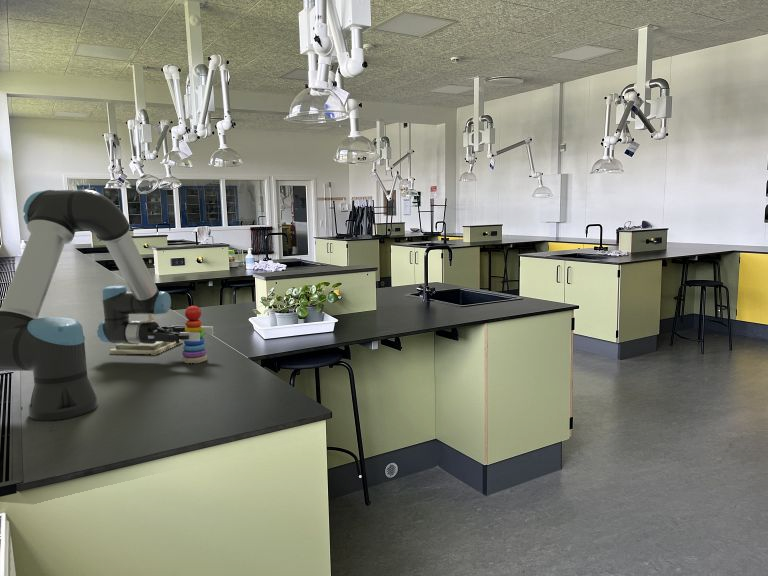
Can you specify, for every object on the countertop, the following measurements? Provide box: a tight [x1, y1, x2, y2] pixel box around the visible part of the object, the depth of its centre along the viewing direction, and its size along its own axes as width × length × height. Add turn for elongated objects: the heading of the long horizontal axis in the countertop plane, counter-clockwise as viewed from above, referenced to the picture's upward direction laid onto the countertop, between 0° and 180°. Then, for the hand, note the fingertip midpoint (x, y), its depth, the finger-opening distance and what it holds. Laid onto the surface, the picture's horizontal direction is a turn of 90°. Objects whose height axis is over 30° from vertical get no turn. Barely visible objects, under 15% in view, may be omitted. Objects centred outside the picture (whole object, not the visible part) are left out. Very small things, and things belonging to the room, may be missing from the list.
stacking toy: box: [181, 305, 208, 365], centre depth 185 cm, size 8×8×19 cm
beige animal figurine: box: [136, 314, 156, 322], centre depth 239 cm, size 8×12×10 cm
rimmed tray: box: [108, 340, 183, 356], centre depth 205 cm, size 18×18×3 cm
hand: (206, 333), depth 184 cm, fingers open, 9 cm apart
